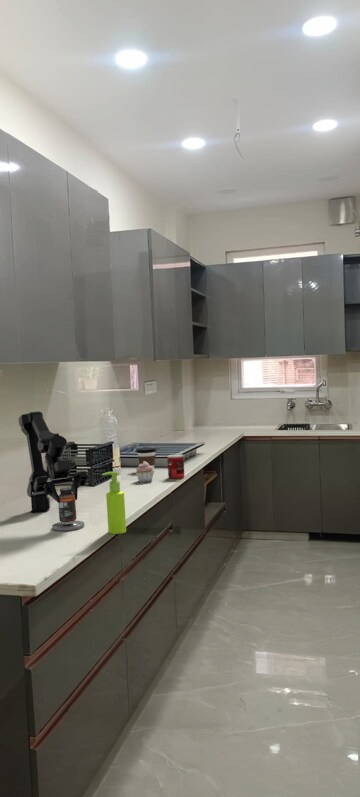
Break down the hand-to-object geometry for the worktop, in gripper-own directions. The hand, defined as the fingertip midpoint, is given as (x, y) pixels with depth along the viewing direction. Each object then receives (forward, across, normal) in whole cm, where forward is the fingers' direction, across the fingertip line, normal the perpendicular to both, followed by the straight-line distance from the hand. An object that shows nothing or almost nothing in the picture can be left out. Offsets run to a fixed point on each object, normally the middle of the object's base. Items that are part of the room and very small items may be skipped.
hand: (67, 500), depth 211 cm
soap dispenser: (+18, +11, -4) cm, 21 cm away
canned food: (-34, +76, +49) cm, 97 cm away
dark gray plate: (+6, 0, +8) cm, 10 cm away
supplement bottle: (+4, 0, +6) cm, 8 cm away
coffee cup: (-54, +74, +70) cm, 116 cm away
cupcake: (-36, +60, +51) cm, 86 cm away
